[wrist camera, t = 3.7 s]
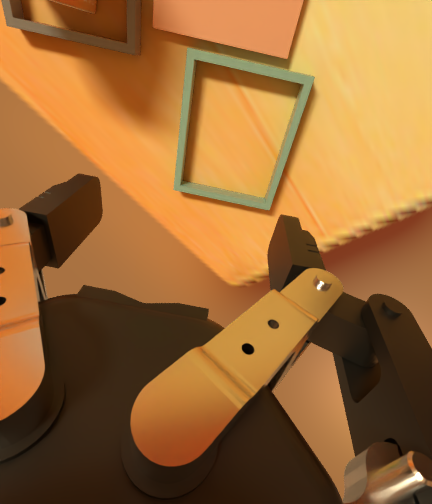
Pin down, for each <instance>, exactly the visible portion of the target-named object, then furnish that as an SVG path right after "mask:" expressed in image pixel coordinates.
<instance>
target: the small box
mask: <svg viewBox="0 0 432 504" xmlns="http://www.w3.org/2000/svg"><path fill="white" fill-rule="evenodd" d="M50 1H53V2H56V3H59V4H62V5H66V6H69V7H72V8H76V9H79V10H82V11H86V12H89V13H92V14H95V11H96V2H97V0H50Z"/></svg>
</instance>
